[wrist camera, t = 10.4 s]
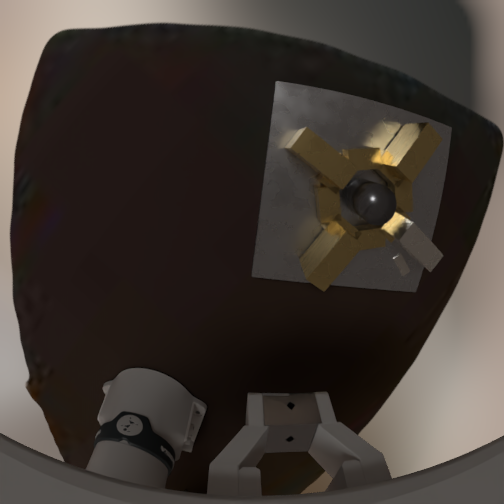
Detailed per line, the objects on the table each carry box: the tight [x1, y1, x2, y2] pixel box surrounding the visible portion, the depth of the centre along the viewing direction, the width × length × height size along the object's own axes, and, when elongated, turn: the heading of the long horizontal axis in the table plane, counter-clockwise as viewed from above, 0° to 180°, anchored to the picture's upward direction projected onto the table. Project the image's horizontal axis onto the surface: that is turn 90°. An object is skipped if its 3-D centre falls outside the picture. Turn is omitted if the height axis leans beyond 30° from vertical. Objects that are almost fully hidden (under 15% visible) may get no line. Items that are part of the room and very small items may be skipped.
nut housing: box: [252, 81, 452, 292], centre depth 30 cm, size 22×22×7 cm
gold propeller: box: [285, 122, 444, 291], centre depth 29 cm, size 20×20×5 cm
